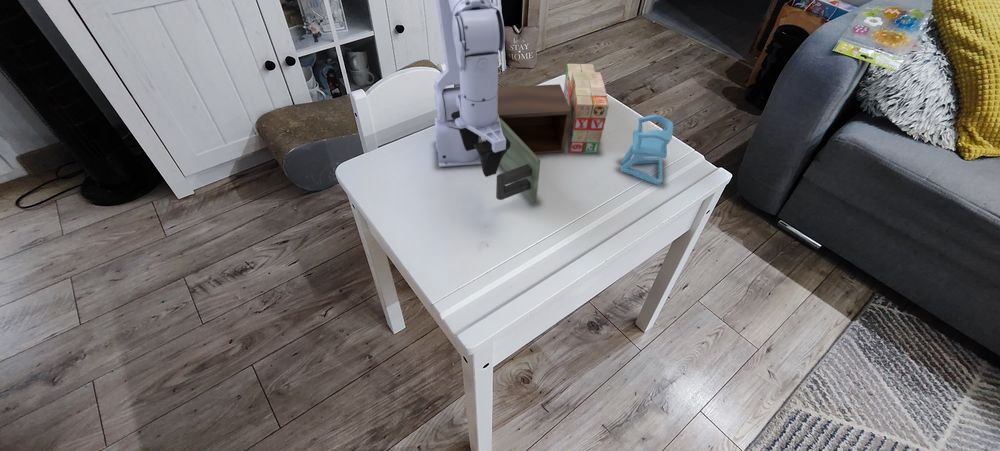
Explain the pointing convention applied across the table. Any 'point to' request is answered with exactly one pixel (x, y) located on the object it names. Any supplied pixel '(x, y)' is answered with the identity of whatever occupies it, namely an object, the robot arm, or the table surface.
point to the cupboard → (536, 116)
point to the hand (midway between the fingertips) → (480, 161)
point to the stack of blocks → (585, 107)
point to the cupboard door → (517, 168)
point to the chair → (648, 148)
